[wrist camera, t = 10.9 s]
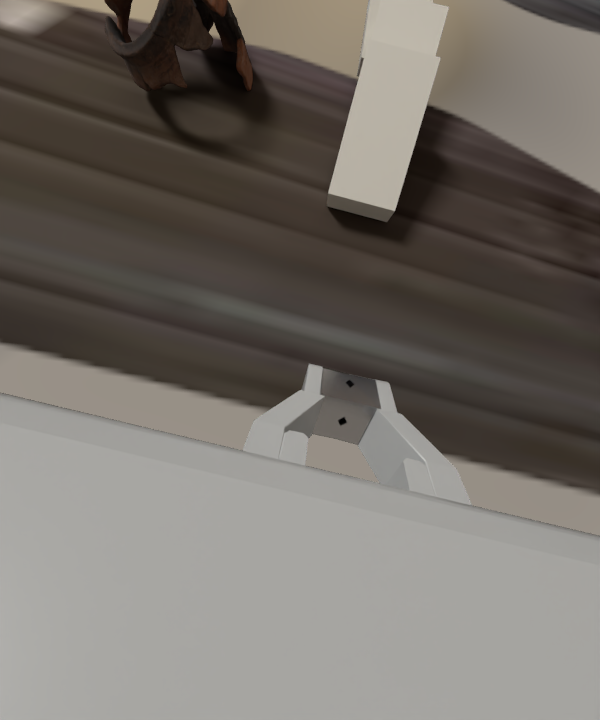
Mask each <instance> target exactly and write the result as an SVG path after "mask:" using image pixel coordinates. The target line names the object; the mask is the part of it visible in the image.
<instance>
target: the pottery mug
mask: <svg viewBox="0 0 600 720" xmlns="http://www.w3.org/2000/svg"><path fill="white" fill-rule="evenodd" d="M105 3H106V4H107V5H108V6H109V8H110V9H111V10H113V11H114V12H115V13H116V15H117V19H118V23H117V25H116V23H115V22H114V21H113V20H112V18H110V17H109V16H107V17H106V24H105V33H106V37H107V39H108V42H109V43H110V45H111V47H112V49H113V50H114V51H115V52H116V53H117V54H118V55H120V56H121V57H122V58H123V59H124V61H125V64H126V66H127V68H128V71H129V73H130V75H131V77H132V78H133V80H134V82H135V83H136V84H137V85H138V86H139V87H141V88H143V89H144V90H146V91H150V90H152V89H153V90H156V89H160V88H162V87H163V86H165V85H166V84H170V83H172V84H175V85H177V86H179V87H183V88H187V84H186V83H185V81H184V79H183V76H182V73H181V70H180V65H179V62H178V59H177V55H176V51H175V47H174V46H175V45H176V46H178V47H180V48H182V49H184V50H186V51H192V50H197V49H200V50H207V49H209V47H210V46H211V45H212V44H213V38H212V36H211V35H210V34H209V31H210V29H211V27H212V26H213V23H215V26H216V29H217V31H218V33H219V35H220V38H221V41H222V45H223V48H224V50H225V51H227V52H228V51H229V52H231V51H232V52H236V53H237V63H236V68H237V71H238V72H239V74H240V75H241V76H242V77H243V82H244V85H245V87H246V89H247V91H250V90H251V88H252V82H253V72H252V66H251V61H250V59H249V56H248V53H247V50H246V46H245V40H244V38H243V35H242V33H241V30H240V28H239V26H238V22H237V19H236V17H235V15H234V13H233V11H232V7H231V5H230V3H229V2H228V0H159V3H158V6H157V9H156V11H155V14H154V17H153V19H152V20H151V23H150V24H149V25H148V27H147V28H146V30H145V31H144V32H143V33H142V34H141V35H140V36H139V37H138V38H137V39H136V40H134V41H133V42H132V41H131V38H130V36H129V34H128V21H129V15H130V9H131V3H132V0H105Z"/></svg>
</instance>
